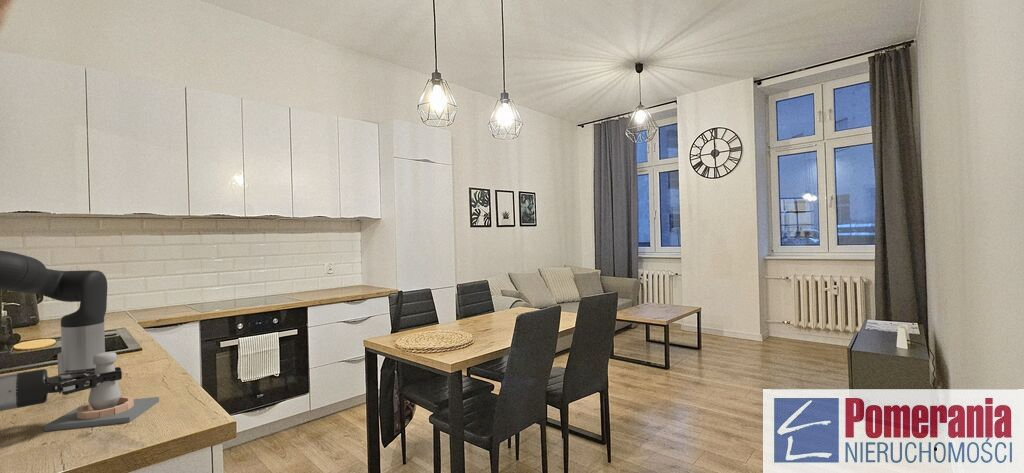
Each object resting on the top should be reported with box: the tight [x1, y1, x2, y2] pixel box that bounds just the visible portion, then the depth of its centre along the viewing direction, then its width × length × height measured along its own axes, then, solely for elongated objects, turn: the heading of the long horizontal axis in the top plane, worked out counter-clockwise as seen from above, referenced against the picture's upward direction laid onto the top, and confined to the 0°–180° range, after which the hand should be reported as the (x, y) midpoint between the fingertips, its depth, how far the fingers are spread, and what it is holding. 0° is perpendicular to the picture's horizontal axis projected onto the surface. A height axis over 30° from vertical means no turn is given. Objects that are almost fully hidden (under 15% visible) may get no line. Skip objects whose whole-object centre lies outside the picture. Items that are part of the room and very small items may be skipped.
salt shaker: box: [88, 351, 122, 410], centre depth 105 cm, size 6×6×13 cm
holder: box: [43, 395, 160, 432], centre depth 106 cm, size 16×13×3 cm
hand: (120, 373), depth 107 cm, fingers closed on salt shaker, 3 cm apart
